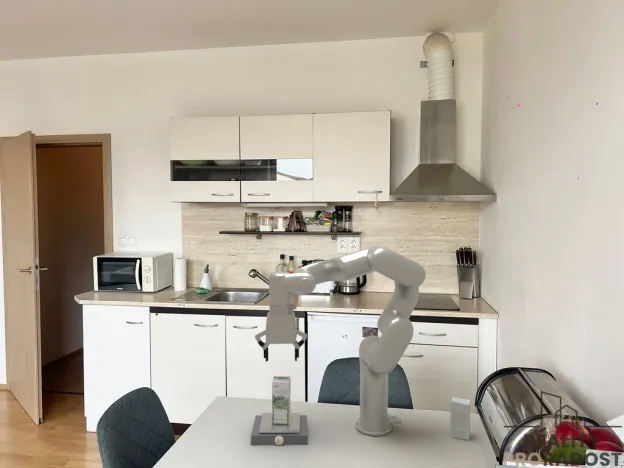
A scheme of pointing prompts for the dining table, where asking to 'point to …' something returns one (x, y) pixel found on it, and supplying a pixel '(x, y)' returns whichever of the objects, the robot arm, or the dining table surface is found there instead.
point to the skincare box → (460, 418)
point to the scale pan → (268, 427)
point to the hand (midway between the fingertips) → (281, 359)
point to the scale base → (279, 435)
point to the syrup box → (281, 399)
